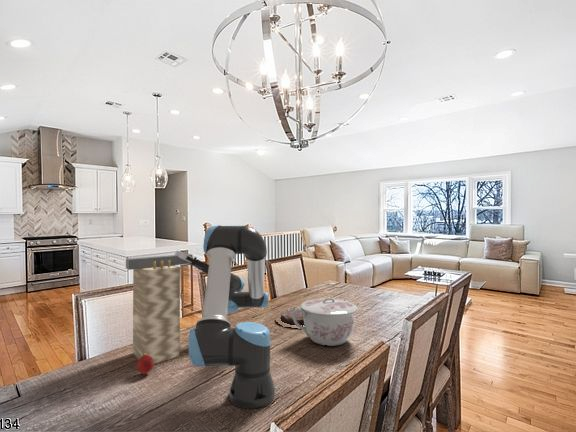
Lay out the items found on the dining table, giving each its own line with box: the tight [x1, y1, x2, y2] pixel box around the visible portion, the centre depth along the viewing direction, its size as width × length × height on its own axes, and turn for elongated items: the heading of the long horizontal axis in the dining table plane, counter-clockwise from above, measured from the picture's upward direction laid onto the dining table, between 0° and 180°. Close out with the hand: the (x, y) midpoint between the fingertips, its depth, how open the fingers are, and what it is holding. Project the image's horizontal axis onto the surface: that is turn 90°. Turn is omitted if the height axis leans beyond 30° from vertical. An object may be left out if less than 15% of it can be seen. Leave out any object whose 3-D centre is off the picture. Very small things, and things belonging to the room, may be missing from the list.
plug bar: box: [125, 253, 194, 271], centre depth 138 cm, size 27×4×4 cm, turn 132°
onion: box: [136, 353, 155, 375], centre depth 120 cm, size 6×6×8 cm
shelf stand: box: [132, 260, 181, 365], centre depth 137 cm, size 14×16×41 cm
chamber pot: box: [292, 297, 359, 347], centre depth 154 cm, size 28×28×21 cm
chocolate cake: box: [280, 306, 304, 326], centre depth 183 cm, size 28×28×7 cm
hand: (177, 253), depth 143 cm, fingers closed on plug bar, 4 cm apart
